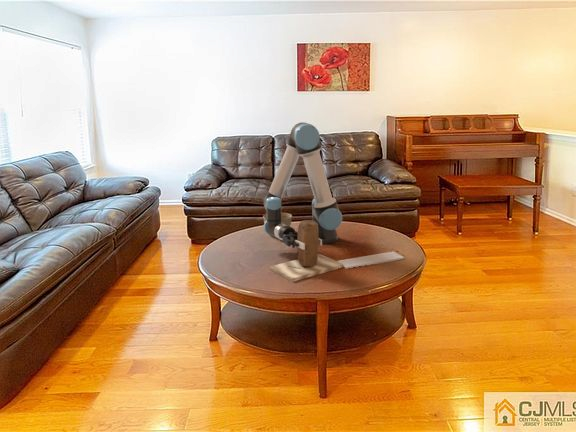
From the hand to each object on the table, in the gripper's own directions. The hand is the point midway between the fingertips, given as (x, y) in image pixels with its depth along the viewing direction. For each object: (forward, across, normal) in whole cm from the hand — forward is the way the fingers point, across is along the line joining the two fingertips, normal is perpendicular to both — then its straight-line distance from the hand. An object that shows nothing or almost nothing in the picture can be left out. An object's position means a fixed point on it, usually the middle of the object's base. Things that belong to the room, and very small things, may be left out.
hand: (312, 244), depth 206 cm
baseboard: (+6, -28, -13) cm, 32 cm away
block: (-4, +1, -10) cm, 11 cm away
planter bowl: (-56, -17, -12) cm, 60 cm away
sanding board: (-3, +1, -12) cm, 13 cm away
